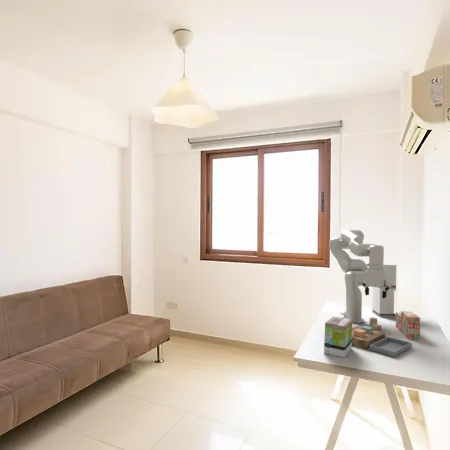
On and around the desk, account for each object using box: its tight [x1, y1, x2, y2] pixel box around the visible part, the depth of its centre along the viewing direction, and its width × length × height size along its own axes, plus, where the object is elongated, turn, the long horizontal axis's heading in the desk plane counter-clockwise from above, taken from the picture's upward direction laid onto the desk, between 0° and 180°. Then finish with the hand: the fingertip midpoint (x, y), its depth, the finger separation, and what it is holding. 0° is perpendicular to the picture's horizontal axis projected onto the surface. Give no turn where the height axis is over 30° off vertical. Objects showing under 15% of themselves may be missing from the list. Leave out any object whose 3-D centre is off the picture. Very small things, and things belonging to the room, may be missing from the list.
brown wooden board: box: [352, 325, 386, 350], centre depth 177 cm, size 16×20×4 cm
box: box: [368, 336, 413, 359], centre depth 166 cm, size 12×20×2 cm, turn 131°
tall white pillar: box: [371, 262, 397, 318], centre depth 230 cm, size 11×11×35 cm
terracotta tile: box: [353, 329, 366, 337], centre depth 174 cm, size 4×4×2 cm
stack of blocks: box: [395, 310, 421, 341], centre depth 191 cm, size 21×6×12 cm, turn 168°
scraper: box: [369, 316, 382, 332], centre depth 192 cm, size 3×16×8 cm, turn 131°
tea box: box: [323, 316, 353, 359], centre depth 162 cm, size 15×10×15 cm
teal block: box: [360, 325, 373, 334], centre depth 179 cm, size 4×4×2 cm
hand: (375, 296), depth 192 cm, fingers open, 9 cm apart
